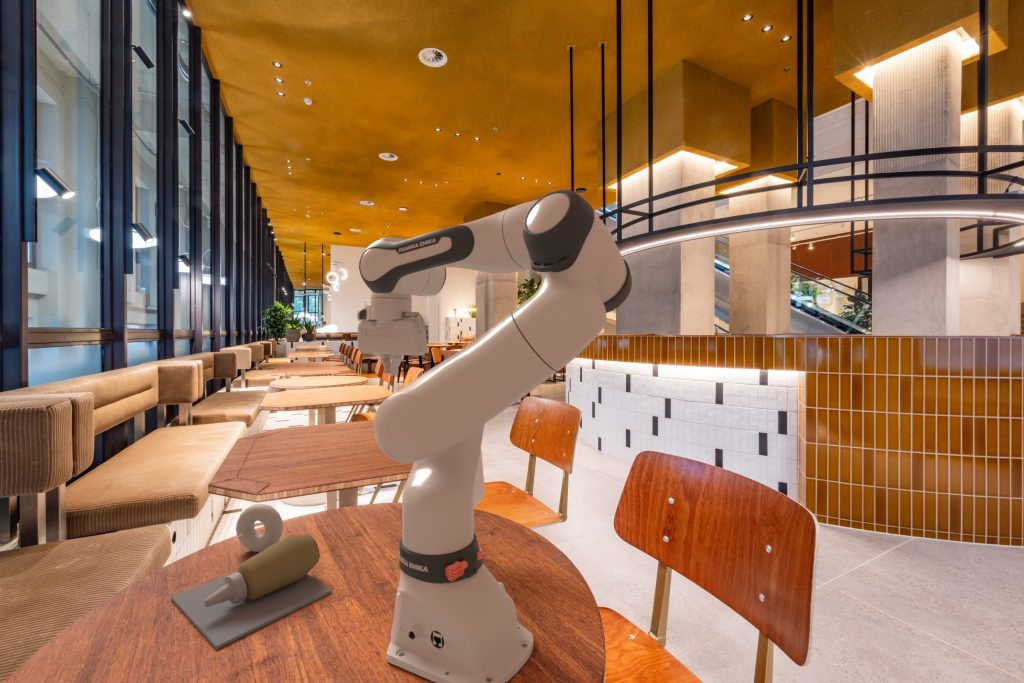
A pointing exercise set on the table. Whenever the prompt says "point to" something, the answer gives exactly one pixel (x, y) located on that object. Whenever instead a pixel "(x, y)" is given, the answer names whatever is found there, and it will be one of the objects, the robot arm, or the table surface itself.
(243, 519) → the donut
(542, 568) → the table surface
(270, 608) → the mat
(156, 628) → the table surface
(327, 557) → the table surface
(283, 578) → the squeeze bottle
